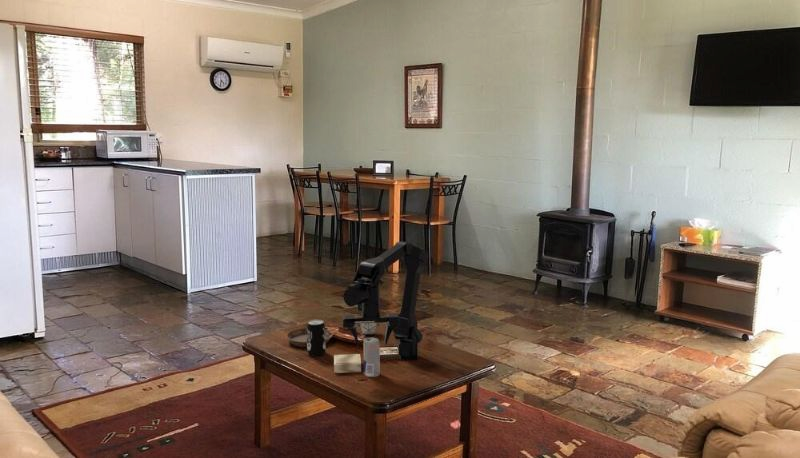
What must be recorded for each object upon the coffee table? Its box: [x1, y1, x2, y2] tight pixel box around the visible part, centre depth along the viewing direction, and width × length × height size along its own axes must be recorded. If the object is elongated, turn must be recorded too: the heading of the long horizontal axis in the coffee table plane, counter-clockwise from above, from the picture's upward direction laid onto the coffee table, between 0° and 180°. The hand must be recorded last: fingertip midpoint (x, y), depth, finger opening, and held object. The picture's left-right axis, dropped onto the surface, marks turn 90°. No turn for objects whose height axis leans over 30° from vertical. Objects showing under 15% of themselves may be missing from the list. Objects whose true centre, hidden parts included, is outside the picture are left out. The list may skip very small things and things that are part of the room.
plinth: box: [333, 353, 362, 374], centre depth 215 cm, size 9×9×3 cm
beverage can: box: [306, 319, 326, 357], centre depth 228 cm, size 7×7×12 cm
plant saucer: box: [285, 327, 333, 348], centre depth 242 cm, size 18×18×3 cm
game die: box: [357, 315, 380, 336], centre depth 249 cm, size 9×8×10 cm
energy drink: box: [362, 336, 381, 378], centre depth 208 cm, size 5×5×12 cm
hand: (371, 345), depth 208 cm, fingers open, 9 cm apart
